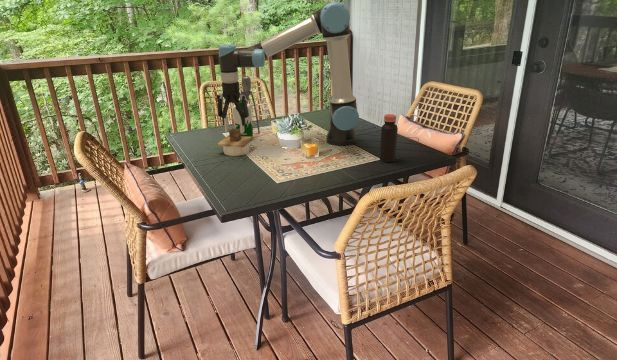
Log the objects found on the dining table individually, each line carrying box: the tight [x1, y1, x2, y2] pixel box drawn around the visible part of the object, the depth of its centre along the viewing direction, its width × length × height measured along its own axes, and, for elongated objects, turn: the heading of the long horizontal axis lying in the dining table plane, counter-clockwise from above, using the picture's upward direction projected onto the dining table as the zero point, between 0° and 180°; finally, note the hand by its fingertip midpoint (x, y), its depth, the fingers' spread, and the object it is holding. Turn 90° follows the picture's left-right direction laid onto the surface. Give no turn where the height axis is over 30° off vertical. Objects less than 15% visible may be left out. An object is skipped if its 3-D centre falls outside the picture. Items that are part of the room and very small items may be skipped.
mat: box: [248, 144, 288, 158], centre depth 196 cm, size 15×15×1 cm
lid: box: [216, 128, 255, 147], centre depth 193 cm, size 13×13×6 cm
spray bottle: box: [239, 75, 261, 135], centre depth 222 cm, size 10×11×30 cm
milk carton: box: [232, 100, 254, 137], centre depth 210 cm, size 9×9×20 cm
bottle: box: [379, 113, 399, 163], centre depth 179 cm, size 7×7×20 cm
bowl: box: [222, 143, 251, 157], centre depth 195 cm, size 12×12×5 cm
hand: (234, 131), depth 193 cm, fingers open, 7 cm apart
